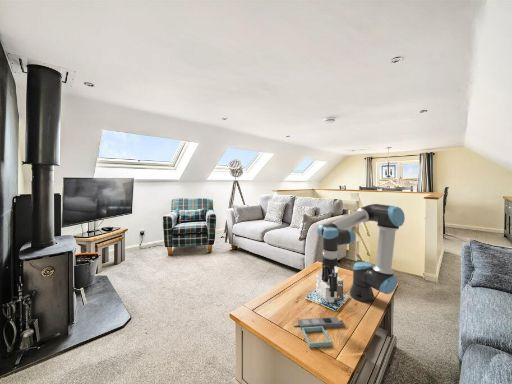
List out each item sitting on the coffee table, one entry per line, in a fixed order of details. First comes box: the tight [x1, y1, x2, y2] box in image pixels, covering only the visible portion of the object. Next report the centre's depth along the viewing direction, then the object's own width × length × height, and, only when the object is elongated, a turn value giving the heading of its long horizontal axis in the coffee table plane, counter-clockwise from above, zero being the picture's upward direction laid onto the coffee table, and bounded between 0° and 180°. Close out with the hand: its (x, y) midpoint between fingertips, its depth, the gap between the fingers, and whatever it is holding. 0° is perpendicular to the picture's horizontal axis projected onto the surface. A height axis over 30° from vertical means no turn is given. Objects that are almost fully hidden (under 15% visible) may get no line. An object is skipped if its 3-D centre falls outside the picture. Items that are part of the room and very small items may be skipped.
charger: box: [320, 281, 338, 302], centre depth 120 cm, size 6×6×8 cm
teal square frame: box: [301, 326, 333, 349], centre depth 111 cm, size 11×11×3 cm
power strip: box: [293, 316, 345, 331], centre depth 121 cm, size 27×5×4 cm, turn 97°
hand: (328, 298), depth 120 cm, fingers closed on charger, 6 cm apart
